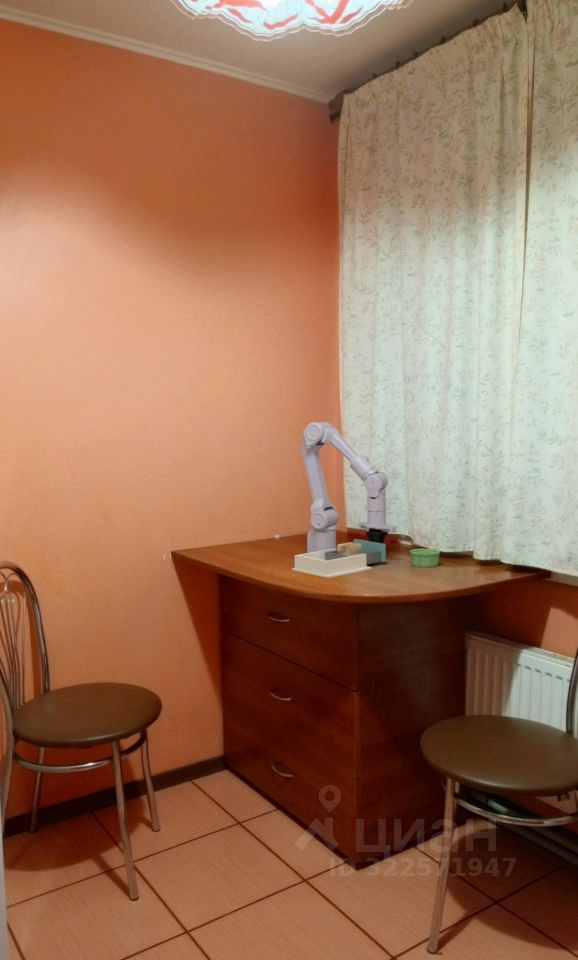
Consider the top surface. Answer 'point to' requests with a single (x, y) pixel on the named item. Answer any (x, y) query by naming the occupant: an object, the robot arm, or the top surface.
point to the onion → (387, 540)
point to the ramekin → (424, 557)
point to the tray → (364, 552)
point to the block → (349, 549)
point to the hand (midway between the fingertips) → (376, 553)
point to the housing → (329, 564)
